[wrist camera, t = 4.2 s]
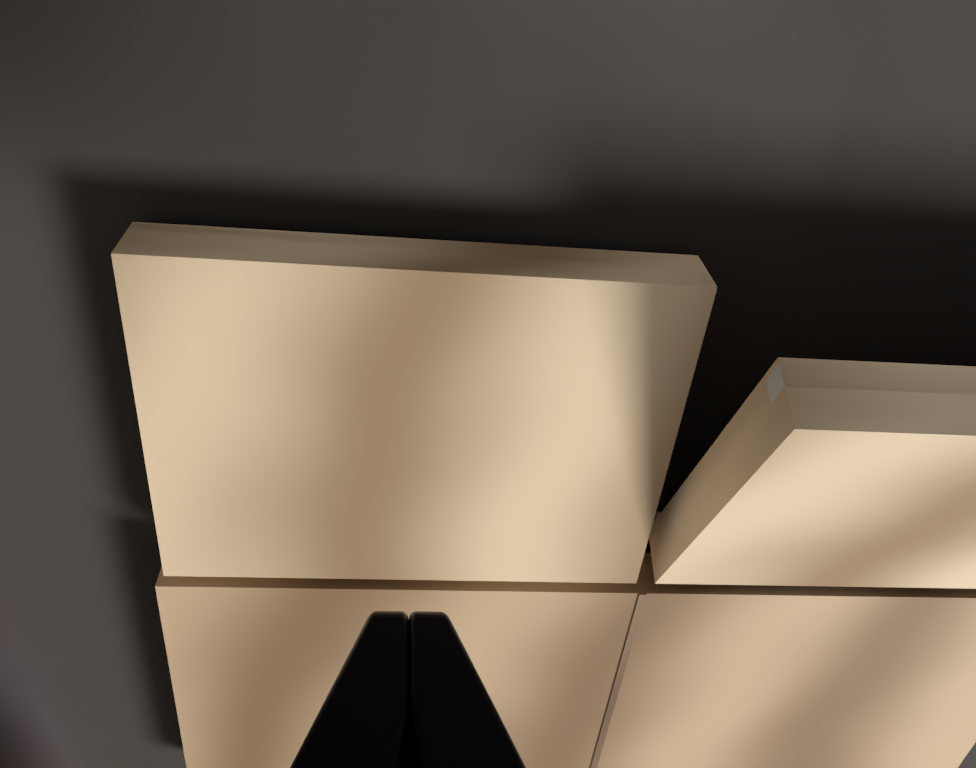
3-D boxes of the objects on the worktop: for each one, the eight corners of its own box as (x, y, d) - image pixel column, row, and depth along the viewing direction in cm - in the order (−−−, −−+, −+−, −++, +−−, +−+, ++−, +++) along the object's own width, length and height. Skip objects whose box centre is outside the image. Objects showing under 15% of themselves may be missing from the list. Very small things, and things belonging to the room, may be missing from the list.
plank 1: (697, 255, 15) (717, 286, 14) (624, 542, 19) (636, 583, 18) (132, 221, 14) (110, 253, 13) (177, 533, 18) (163, 576, 17)
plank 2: (1350, 383, 14) (1392, 450, 13) (1053, 539, 20) (1073, 590, 19) (777, 356, 13) (794, 428, 12) (648, 529, 19) (654, 583, 18)
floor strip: (1042, 560, 20) (1075, 601, 19) (916, 757, 25) (937, 798, 24) (169, 543, 18) (154, 587, 17) (203, 762, 22) (193, 808, 21)
